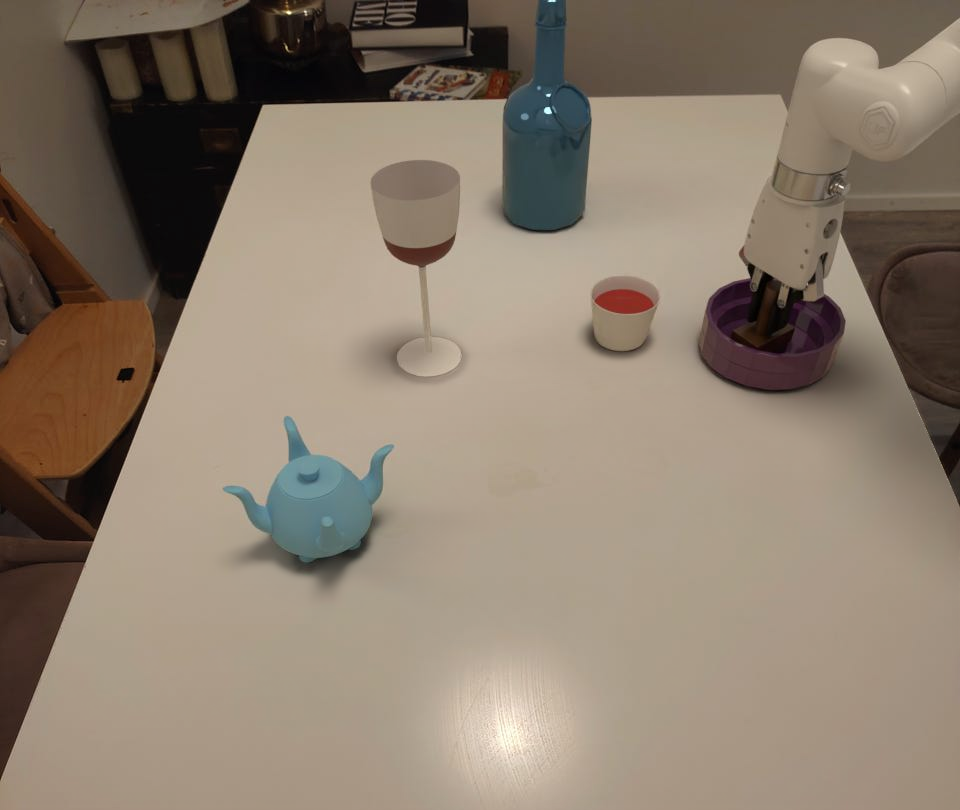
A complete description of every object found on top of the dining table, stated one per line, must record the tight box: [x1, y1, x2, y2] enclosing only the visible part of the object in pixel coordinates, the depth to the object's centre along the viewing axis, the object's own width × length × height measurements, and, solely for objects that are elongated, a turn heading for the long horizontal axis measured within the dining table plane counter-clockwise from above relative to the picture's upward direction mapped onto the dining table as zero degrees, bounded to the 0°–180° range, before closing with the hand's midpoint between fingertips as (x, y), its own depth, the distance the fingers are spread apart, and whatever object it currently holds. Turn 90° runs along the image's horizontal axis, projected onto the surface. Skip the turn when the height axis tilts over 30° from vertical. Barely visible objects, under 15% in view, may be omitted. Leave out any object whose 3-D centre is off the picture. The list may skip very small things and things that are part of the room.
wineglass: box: [370, 159, 462, 378], centre depth 104 cm, size 9×10×23 cm
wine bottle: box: [501, 0, 593, 231], centre depth 123 cm, size 14×13×30 cm
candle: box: [589, 274, 661, 352], centre depth 113 cm, size 9×9×6 cm
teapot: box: [222, 415, 395, 563], centre depth 91 cm, size 13×13×10 cm
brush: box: [731, 280, 795, 354], centre depth 108 cm, size 7×4×10 cm, turn 125°
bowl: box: [698, 277, 847, 391], centre depth 111 cm, size 17×17×6 cm
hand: (765, 323), depth 108 cm, fingers closed on brush, 2 cm apart
